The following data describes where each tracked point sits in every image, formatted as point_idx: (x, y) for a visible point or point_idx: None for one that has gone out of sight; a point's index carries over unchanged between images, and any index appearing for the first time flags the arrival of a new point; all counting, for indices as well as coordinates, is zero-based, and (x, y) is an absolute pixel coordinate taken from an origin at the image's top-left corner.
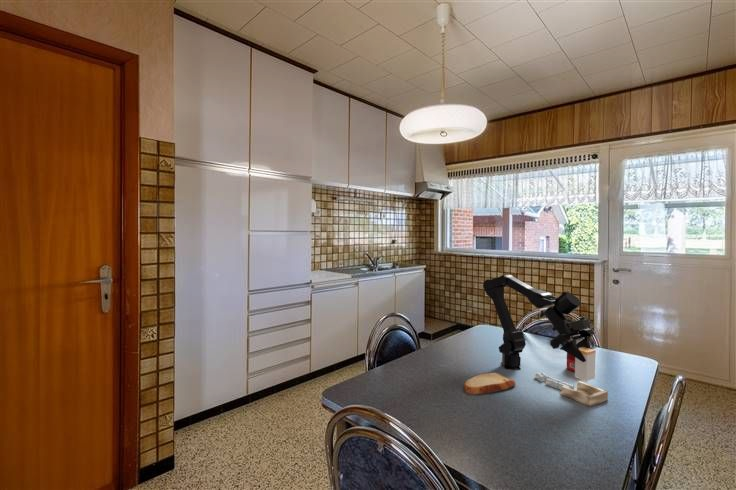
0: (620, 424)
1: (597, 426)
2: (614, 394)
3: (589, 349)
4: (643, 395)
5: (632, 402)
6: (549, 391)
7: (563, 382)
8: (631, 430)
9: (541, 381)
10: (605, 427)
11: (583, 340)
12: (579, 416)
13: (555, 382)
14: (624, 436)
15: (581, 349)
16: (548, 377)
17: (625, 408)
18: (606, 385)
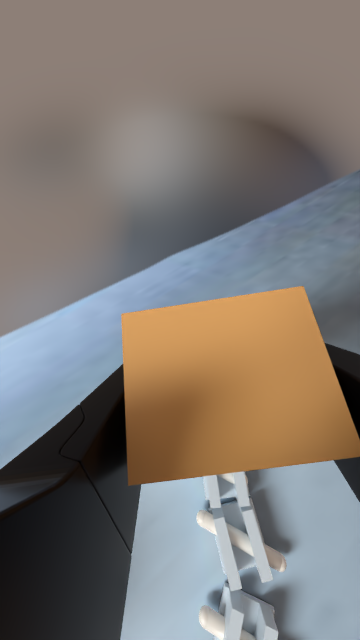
0: (254, 245)
1: (324, 253)
2: (89, 367)
3: (170, 356)
4: (18, 331)
5: (99, 312)
6: (307, 484)
7: (219, 499)
8: (254, 223)
9: (267, 604)
10: (307, 245)
11: (20, 618)
12: (334, 301)
13: (255, 519)
14: (295, 212)
15: (287, 395)
16: (234, 604)
17: (157, 294)
18: (34, 432)
